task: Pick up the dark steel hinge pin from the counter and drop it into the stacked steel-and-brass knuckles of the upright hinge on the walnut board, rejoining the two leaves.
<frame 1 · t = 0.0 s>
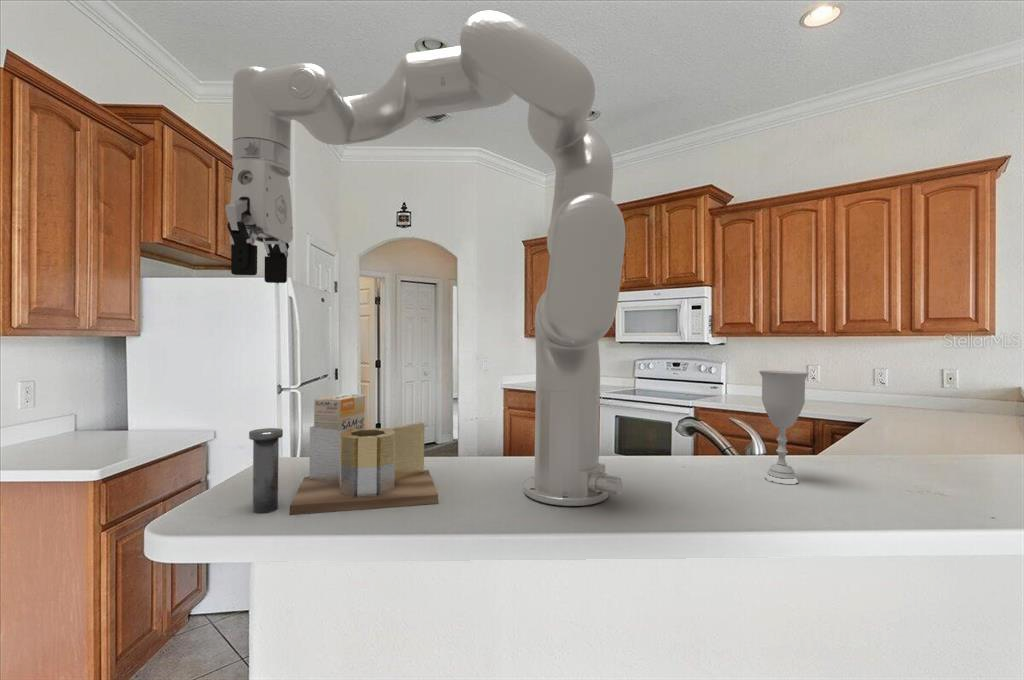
hand: (261, 279, 72), 31 cm above the countertop, tool pointing down, fingers open, 9 cm apart
chalice: (781, 481, 82), on the countertop
hinge pin: (265, 509, 66), on the countertop
walnut board: (367, 496, 71), on the countertop
supplement box: (339, 475, 82), on the countertop
hinge: (368, 457, 73), on the walnut board, point 5 cm above the countertop
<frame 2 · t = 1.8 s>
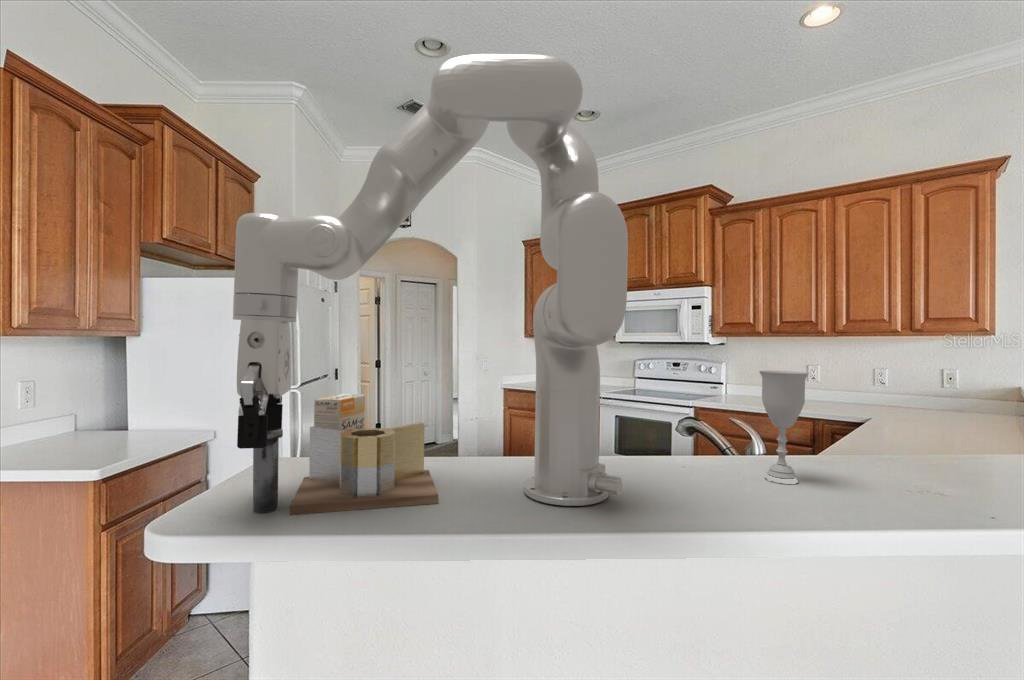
hand: (261, 439, 65), 9 cm above the countertop, tool pointing down, fingers open, 9 cm apart
nothing on the countertop moved.
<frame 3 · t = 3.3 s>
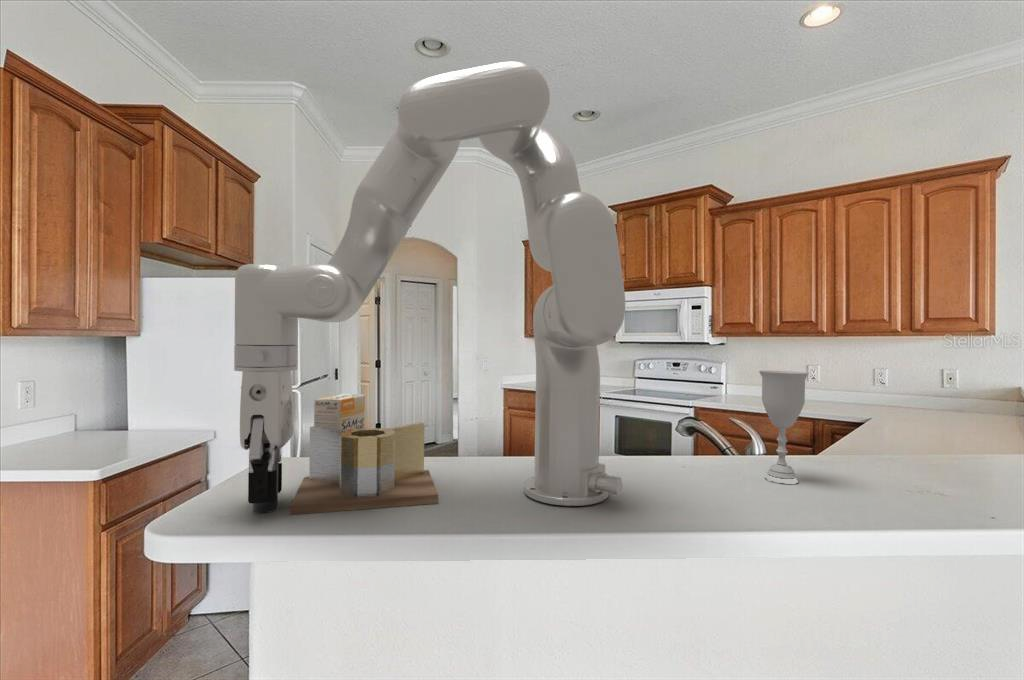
hand: (265, 496, 65), 2 cm above the countertop, tool pointing down, fingers closed on hinge pin, 3 cm apart
hinge pin: (265, 509, 66), on the countertop, touching gripper
everything else where it was.
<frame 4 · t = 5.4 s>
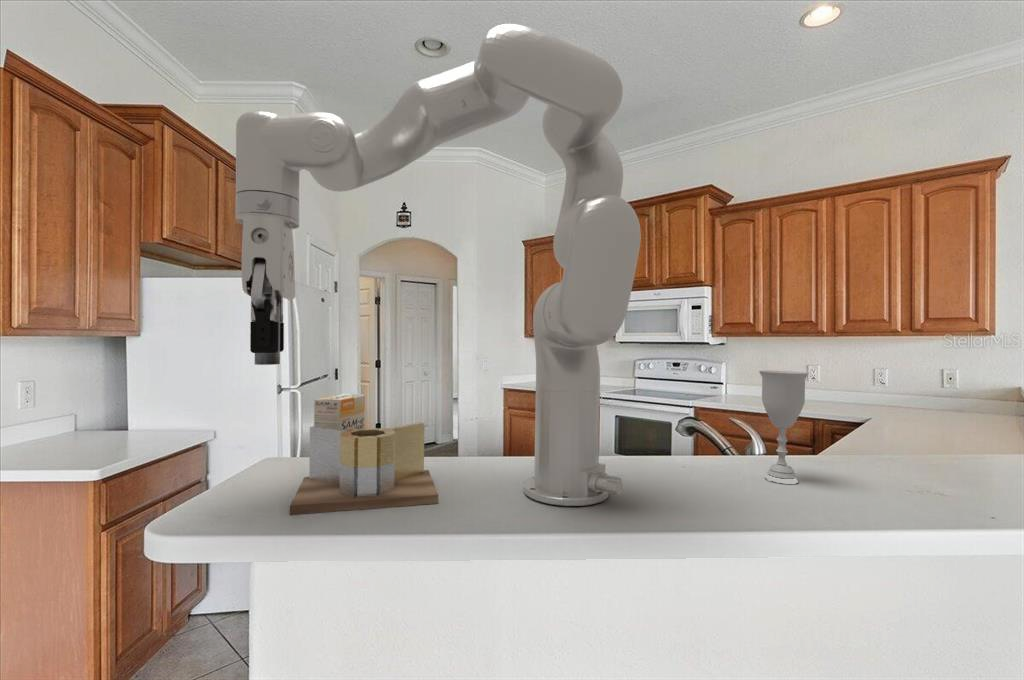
hand: (267, 350, 65), 21 cm above the countertop, tool pointing down, fingers closed on hinge pin, 3 cm apart
hinge pin: (267, 364, 65), point 19 cm above the countertop, touching gripper
everything else where it was.
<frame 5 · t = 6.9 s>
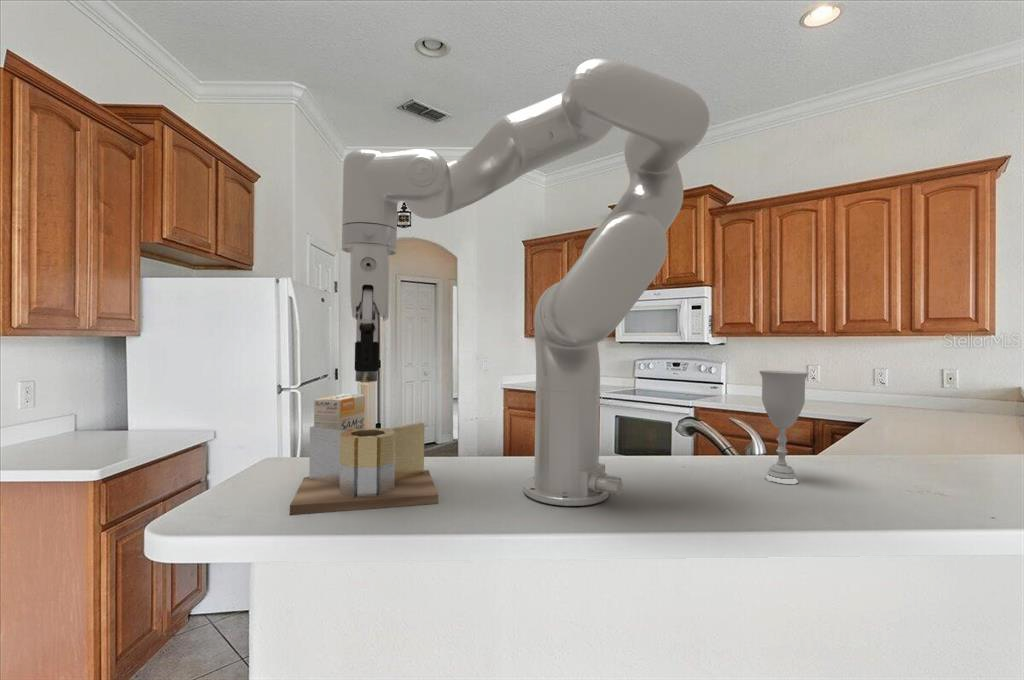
hand: (366, 369, 71), 18 cm above the countertop, tool pointing down, fingers closed on hinge pin, 3 cm apart
hinge pin: (366, 380, 71), point 17 cm above the countertop, touching gripper
everything else where it was.
when the fingers open (12 cm above the countertop, at t = 7.9 s): hinge pin drops 9 cm, resting on walnut board.
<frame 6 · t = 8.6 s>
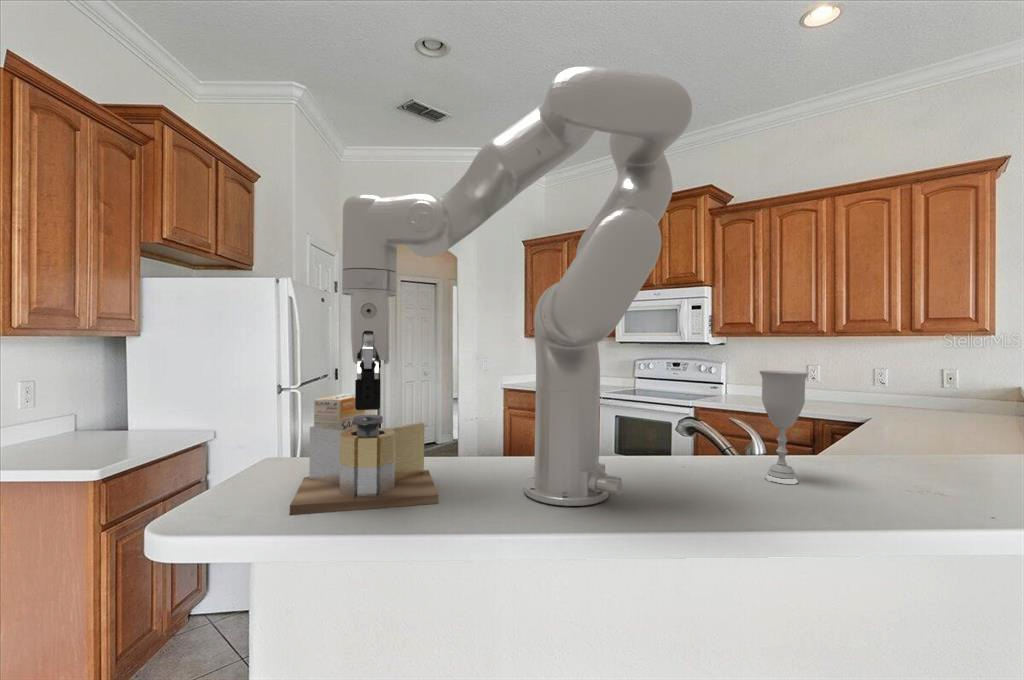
hand: (368, 404, 71), 13 cm above the countertop, tool pointing down, fingers open, 9 cm apart
hinge pin: (367, 490, 70), point 1 cm above the countertop, touching walnut board
everything else where it was.
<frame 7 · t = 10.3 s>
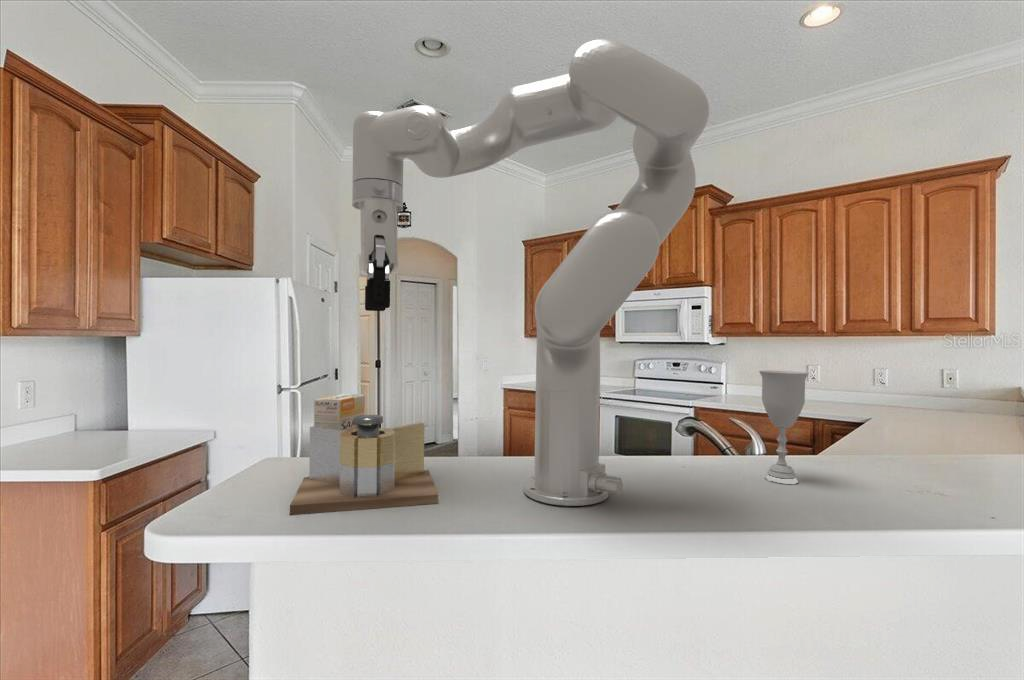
hand: (376, 309, 76), 27 cm above the countertop, tool pointing down, fingers open, 9 cm apart
nothing on the countertop moved.
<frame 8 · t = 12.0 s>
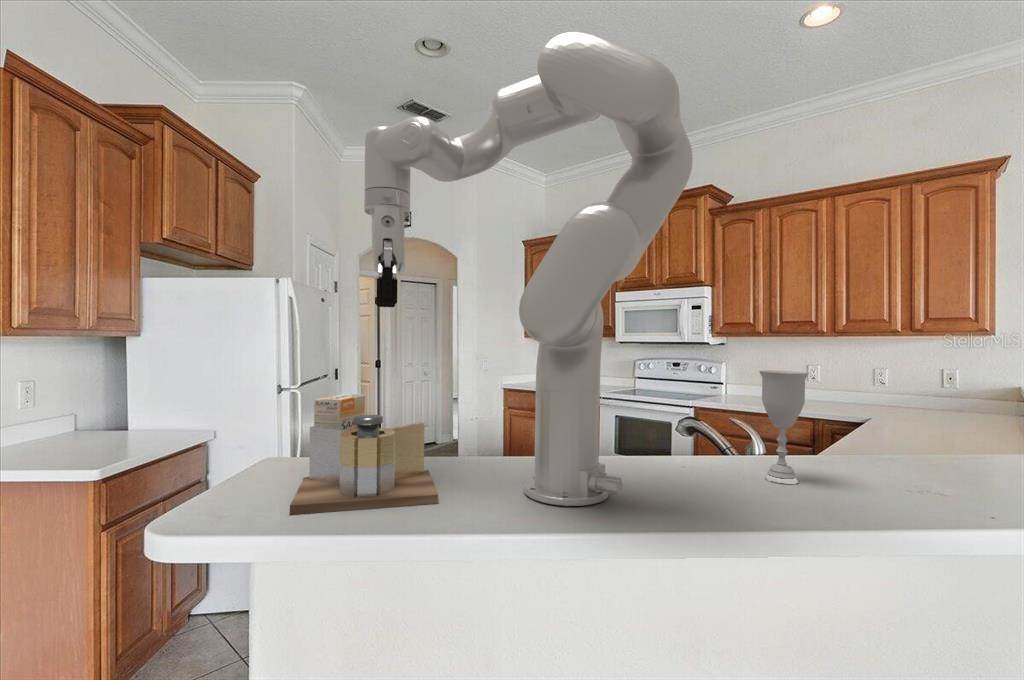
hand: (386, 305, 84), 28 cm above the countertop, tool pointing down, fingers open, 9 cm apart
nothing on the countertop moved.
at the end: hinge pin 0.7 cm off-centre on the hinge, point 1.2 cm above the hinge's base; hinge pin tilted 0°; the gripper is holding nothing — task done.
